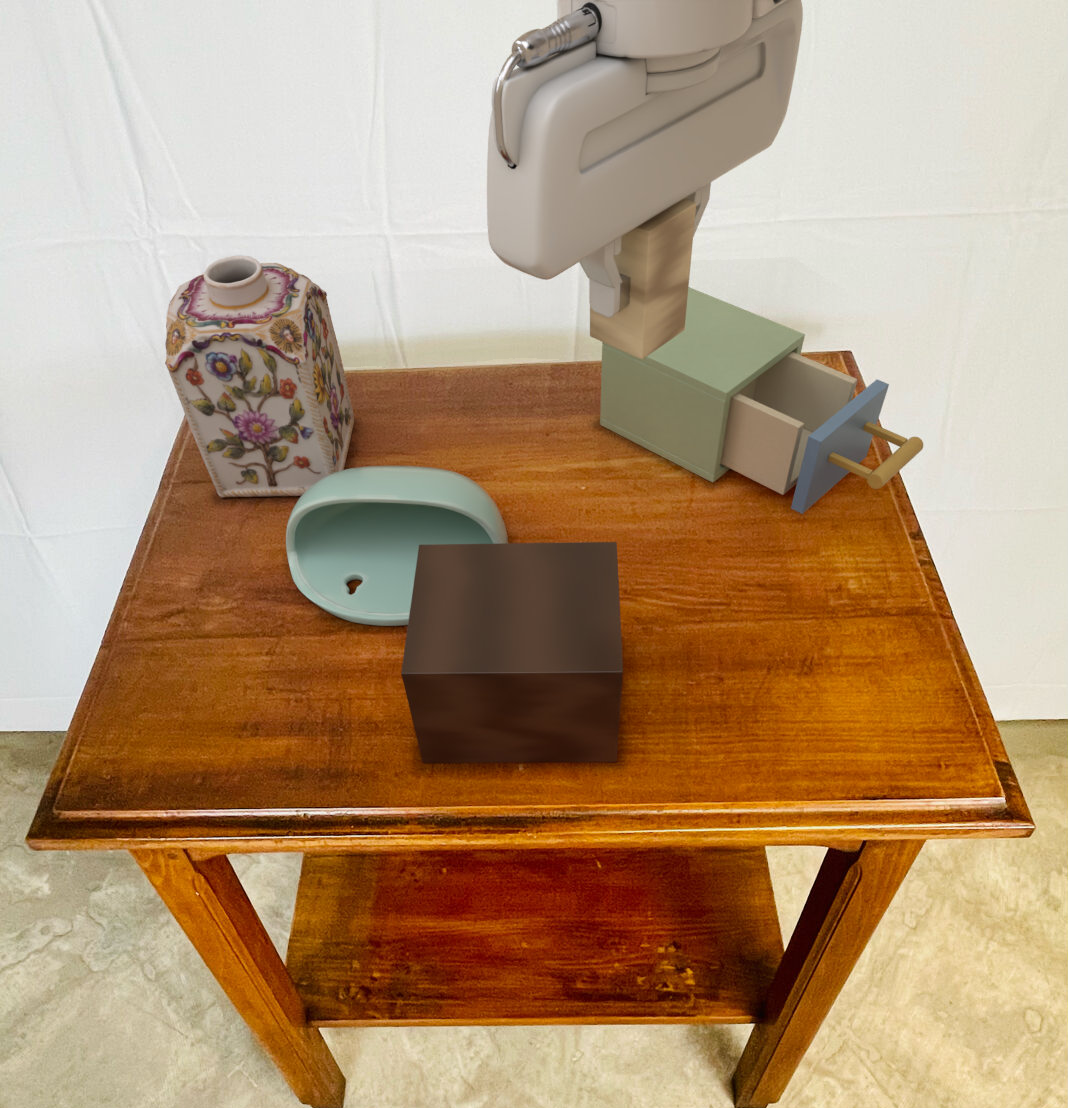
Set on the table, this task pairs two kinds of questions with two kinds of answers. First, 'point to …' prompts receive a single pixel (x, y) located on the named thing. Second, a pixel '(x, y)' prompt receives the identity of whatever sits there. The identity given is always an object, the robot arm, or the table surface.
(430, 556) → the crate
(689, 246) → the block
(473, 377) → the table surface
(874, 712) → the table surface
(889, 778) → the table surface
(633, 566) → the table surface
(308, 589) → the planter
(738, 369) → the cabinet
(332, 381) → the decorative jar
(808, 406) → the drawer
